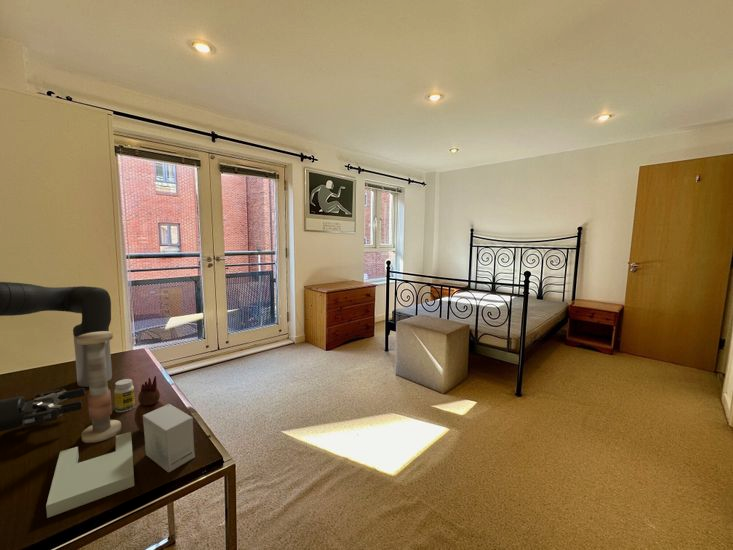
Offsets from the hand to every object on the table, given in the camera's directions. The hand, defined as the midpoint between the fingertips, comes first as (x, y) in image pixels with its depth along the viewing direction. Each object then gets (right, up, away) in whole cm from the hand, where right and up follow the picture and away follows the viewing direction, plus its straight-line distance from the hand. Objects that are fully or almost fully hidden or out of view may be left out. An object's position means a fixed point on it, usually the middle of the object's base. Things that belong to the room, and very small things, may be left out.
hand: (83, 398), depth 89 cm
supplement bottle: (+7, -6, +6) cm, 11 cm away
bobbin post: (+10, -7, -5) cm, 13 cm away
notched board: (+20, -9, -19) cm, 29 cm away
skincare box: (+32, -9, -13) cm, 36 cm away
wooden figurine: (+21, -7, -3) cm, 23 cm away
